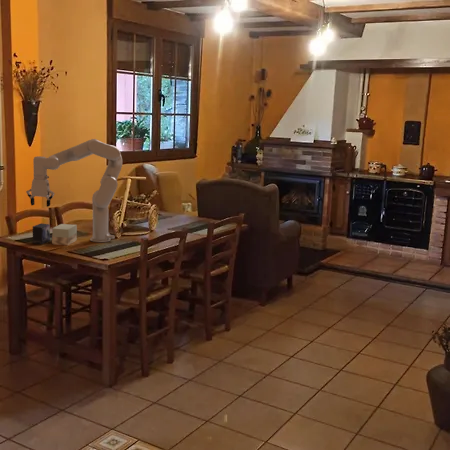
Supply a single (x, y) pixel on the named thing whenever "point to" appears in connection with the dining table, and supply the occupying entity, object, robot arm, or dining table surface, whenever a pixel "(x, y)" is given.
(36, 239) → the small box
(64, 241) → the tower base
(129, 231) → the dining table surface
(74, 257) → the dining table surface
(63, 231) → the tower top
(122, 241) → the dining table surface
